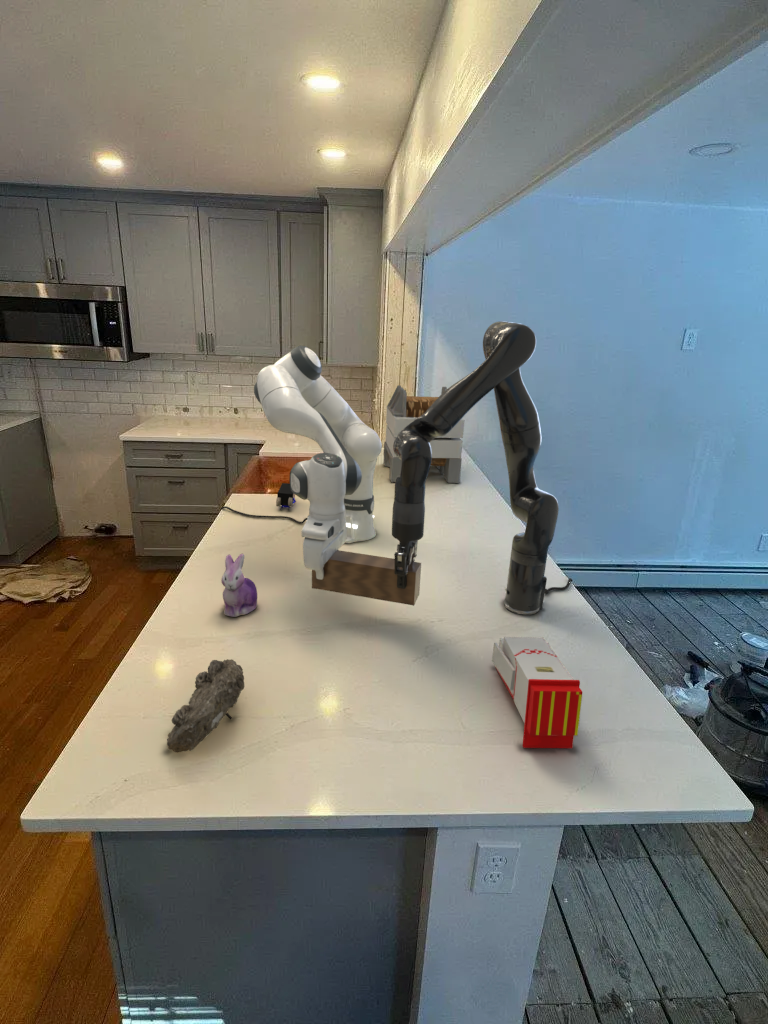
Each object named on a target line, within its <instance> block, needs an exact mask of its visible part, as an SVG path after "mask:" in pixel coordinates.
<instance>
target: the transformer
mask: <svg viewBox="0 0 768 1024" xmlns="http://www.w3.org/2000/svg"><path fill="white" fill-rule="evenodd" d="M447 389H448V388H447V386H442V387H441V392H440V393H441V394H442V393H443V392H444V391H446V390H447ZM407 394H408V393H407V390H406V389H404V388H403V387H402V385H399V384H398V385H397V386H396V388H395V390H394V392H393V394H392V395H391V398H390V400H389V402H388V404H387V405H386V413H385V414H386V415H385V423H386V428H385V438H384V442H383V466H384V467H388V468H389V475H388V476H389V477H388V478H389V480H390V482H391V483H395V480H396V477H397V476H398V475H399V474H400V473H401V466H402V460H400V459H399V458H398V457H397V456H396V455H395V453H394V450H393V444H394V440H395V438H396V437H397V435H398V434H399V433H400V432H401V431H402V430H403V429H404V428H405V427H406V426H407V425H409V424H410V423H411V422H413V421H414V420H415V419H417V418H418V417H420V416H421V415H423V414H424V413H425V412H426V411H427V409H428V408H430V406H431V405H432V404H433V403H434V402H435V401H436V400H437V399H438V397H439V396H415V395H414V396H413V395H412V396H411V395H407ZM441 394H440V395H441ZM464 429H465V419H464V418H462V419H461V420H460V421H459V422H458V423H457V424H456V425H455V426H454V427H453V428H452V430H451V431H450V432H448V433H447V434H446V435H445V436H440V437H436V438H434V439H433V440H432V441H431V442H430V445H431V450H432V460H431V465H430V466H431V467H436V468H437V470H438V469H439V473H440V474H441V475H443V478H444V479H445V481H446V482H447V483H449V484H455V483H456V484H459V483H461V472H462V461H463V460H462V453H463V442H464V441H463V440H462V439H463V438H464V431H465V430H464Z"/></svg>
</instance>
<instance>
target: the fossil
mask: <svg viewBox="0 0 768 1024" xmlns="http://www.w3.org/2000/svg"><path fill="white" fill-rule="evenodd" d="M243 670H244V669H243V667H242V665H240V664H237V662H236V661H235V660H234V659H232V658H231V659H227V658H226V659H224V660H223V661H222V660H217V659H212V660H211V661H210V663H209V665H208V666H207V671H201V672H199V673H198V674H197V675H196V676H195V680H194V684H195V685H194V687H195V689H194V690H193V693H192V694H191V697H190V698H189V700H188V704H184V705H182V706H181V707H180V709H177V710H176V711H175V713H174V715H173V716H172V718H171V723H172V724H173V727H172V730H171V731H170V732H168V734H167V738H166V741H167V742H166V745H167V749H168V750H169V751H173V752H174V753H176V754H178V753H182V752H188V751H189V752H192V751H193V750H195V748H196V747H197V746H199V744H200V743H201V742H203V741H204V740H205V739H206V738H207V737H208V736H209V735H210V734H211V733H212V732H214V730H215V729H217V727H218V726H219V724H220V722H221V721H222V720H223V719H224V718H225V716H226V717H227V719H229V720H233V717H232V715H230V714H229V710H230V709H231V708H234V706H235V704H236V703H237V702H238V699H239V697H240V695H241V693H242V691H243V690H245V689H244V688H245V675H244V671H243Z"/></svg>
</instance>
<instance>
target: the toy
mask: <svg viewBox="0 0 768 1024" xmlns="http://www.w3.org/2000/svg"><path fill="white" fill-rule="evenodd" d="M491 662H492V663H493V665H494V667H495V669H496V671H497V673H498V675H499V676H500V678H501V680H502V683H503V684H504V686H505V688H506V689H507V691H508V693H509V695H510V697H511V698H512V700H513V702H514V705H515V707H516V709H517V711H518V713H519V715H520V717H521V719H522V722H523V724H524V725H523V736H522V748H524V749H573V747H574V738H575V736H577V737H578V734H579V725H580V717H581V710H582V709H581V708H582V701H583V700H582V699H583V690H582V689H581V688H580V685H581V681H580V679H574V677H573V676H572V675H571V673H570V672H569V670H568V669H567V668H566V667H565V665H564V664H563V662H562V661H561V660H560V658H559V657H558V656H557V654H556V653H555V651H554V650H553V649H552V647H551V645H550V643H549V642H547V640H546V639H545V637H543V636H542V637H541V636H535V637H534V636H503V637H500V638H499V642H498V643H497V642H494V643H493V649H492V657H491Z"/></svg>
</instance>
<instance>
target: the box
mask: <svg viewBox="0 0 768 1024" xmlns="http://www.w3.org/2000/svg"><path fill="white" fill-rule="evenodd" d="M406 562H407V561H406ZM400 569H403V568H402V567H400ZM323 570H324V571H325V577H324V578H323V579H322V580H321V579H317V578H316V571H315V570H311V589H314V590H321V591H326V592H333V593H339V594H343V595H350V596H356V597H362V598H368V599H373V600H380V601H385V602H390V603H397V604H402V605H409V606H412V607H413V606H415V604H416V602H417V600H418V598H419V596H420V589H421V575H422V574H421V573H422V572H421V571H422V562H418V561H414V562H412V561H411V565H409V566H408V574H407V585H406V588H405V589H401V588H398V587H397V575H395V573H394V571H395V558H392V557H385V556H380V555H379V556H378V555H372V554H365V553H359V552H352V551H346V550H340V549H339V550H337V551H336V552H335V553H334V554H333V555H332V556H331V558H330V559H329V560H328V561H327V562H326V563H325V564H324V567H323Z"/></svg>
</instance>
